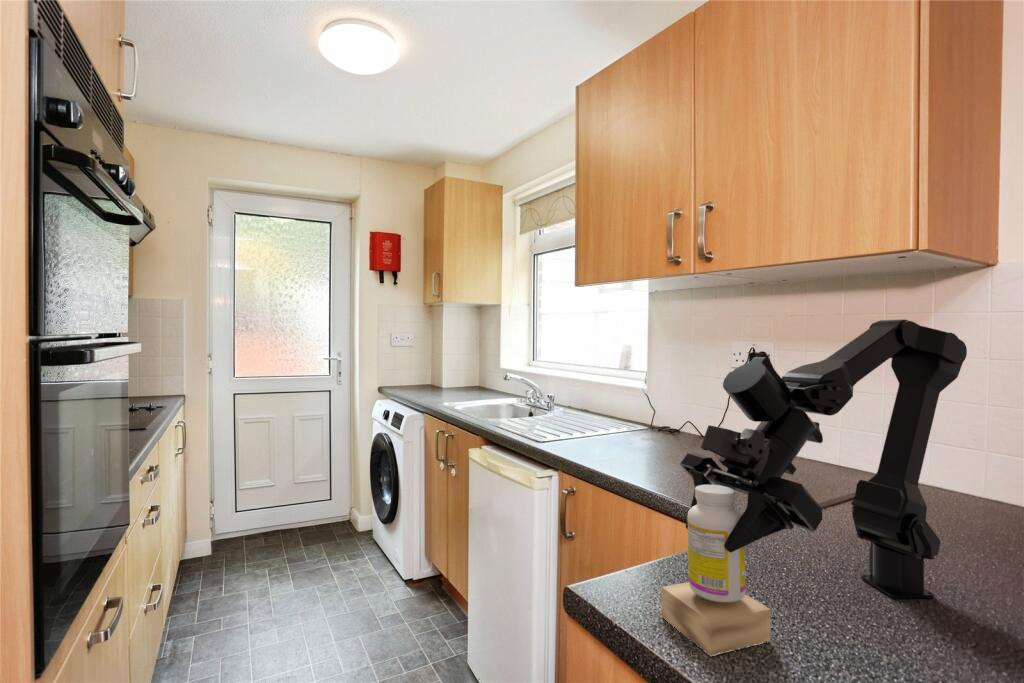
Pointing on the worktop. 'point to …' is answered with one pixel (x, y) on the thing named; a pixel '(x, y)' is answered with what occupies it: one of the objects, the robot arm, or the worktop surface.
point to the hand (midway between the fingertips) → (706, 539)
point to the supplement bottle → (714, 546)
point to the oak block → (715, 619)
